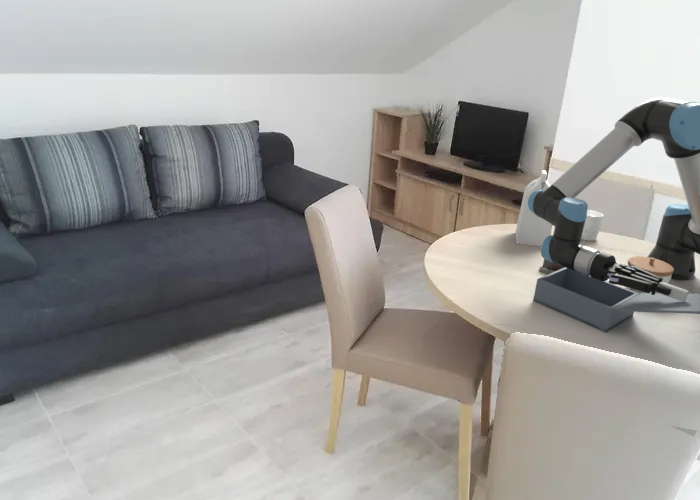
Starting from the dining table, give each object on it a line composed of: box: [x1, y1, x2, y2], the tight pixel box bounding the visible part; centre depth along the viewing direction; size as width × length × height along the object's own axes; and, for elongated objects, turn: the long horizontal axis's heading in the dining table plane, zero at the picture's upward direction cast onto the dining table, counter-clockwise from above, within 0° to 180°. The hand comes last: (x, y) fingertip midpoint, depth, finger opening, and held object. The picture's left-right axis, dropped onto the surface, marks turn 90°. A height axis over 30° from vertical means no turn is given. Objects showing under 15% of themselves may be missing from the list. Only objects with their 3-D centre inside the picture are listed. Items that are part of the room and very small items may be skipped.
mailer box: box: [532, 267, 639, 333], centre depth 162 cm, size 22×16×7 cm
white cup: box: [581, 209, 604, 242], centre depth 218 cm, size 8×8×10 cm
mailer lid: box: [614, 293, 700, 315], centre depth 144 cm, size 22×16×1 cm
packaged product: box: [538, 258, 564, 275], centre depth 184 cm, size 18×5×10 cm
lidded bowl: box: [626, 255, 674, 294], centre depth 175 cm, size 13×13×11 cm
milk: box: [515, 169, 553, 247], centre depth 210 cm, size 12×12×26 cm
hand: (685, 296), depth 141 cm, fingers closed
